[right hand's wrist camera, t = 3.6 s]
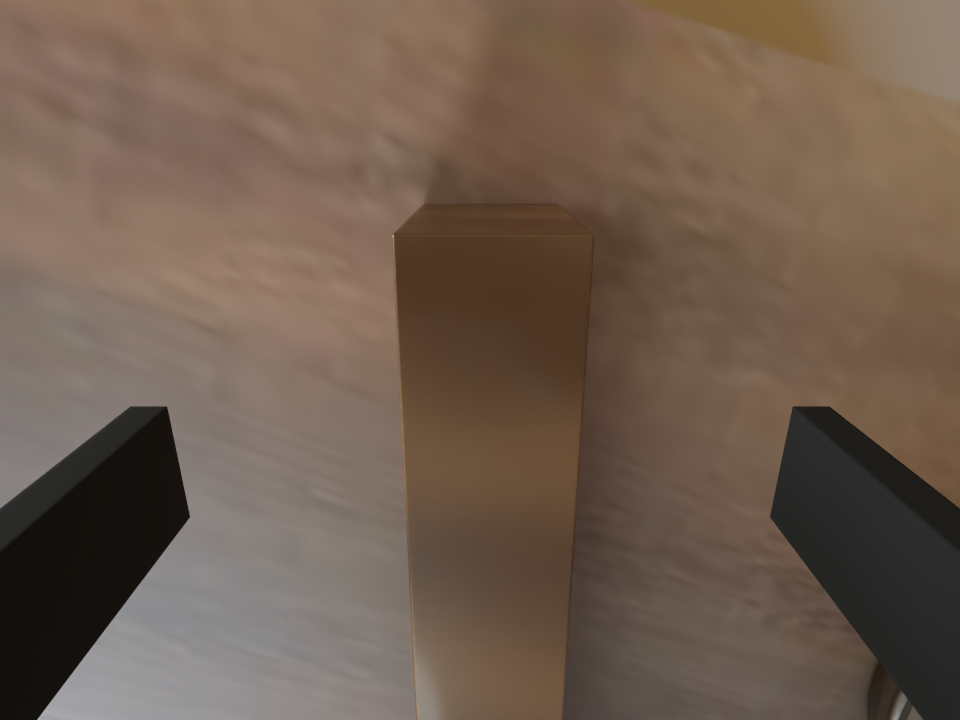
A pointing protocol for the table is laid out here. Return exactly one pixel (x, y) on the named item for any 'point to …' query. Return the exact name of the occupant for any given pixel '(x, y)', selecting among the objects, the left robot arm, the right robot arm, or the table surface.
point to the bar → (491, 450)
